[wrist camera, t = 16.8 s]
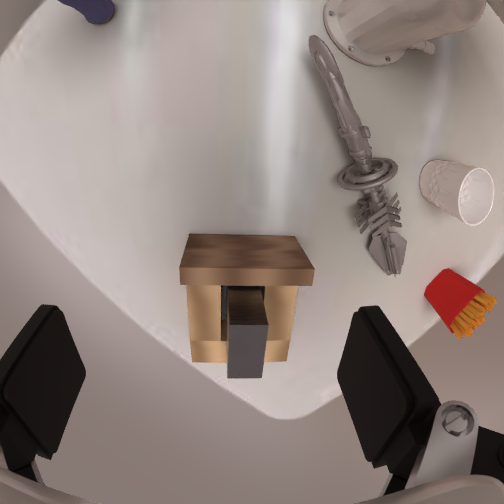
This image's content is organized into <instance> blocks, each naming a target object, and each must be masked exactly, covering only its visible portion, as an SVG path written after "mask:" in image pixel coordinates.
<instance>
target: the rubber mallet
mask: <svg viewBox="0 0 504 504" xmlns="http://www.w3.org/2000/svg"><path fill="white" fill-rule="evenodd" d="M58 1H60V2H61V3H63V4H65V5H68V6H71V7H73V8H75V9H76V10H77V11H79V12H80V13H82V14H83V15H84V16H85V18H86V20H87V21H88V22H89V23H92V24H100V23H104V22H106V21H108V20H109V19H110V18H111V17H112V15H113V11H114V4H113V2H112V1H111V0H58Z"/></svg>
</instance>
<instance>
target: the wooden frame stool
mask: <svg viewBox="0 0 504 504" xmlns="http://www.w3.org/2000/svg"><path fill="white" fill-rule="evenodd" d="M179 268H180V285H187V302H188V318H189V332H190V344H191V355H192V362H209V363H227V352H226V320H221V285H222V286H260V289H261V293H262V298H263V302H264V306H265V311H266V315H267V320H268V324H269V327H268V334H267V342H266V350H265V357H264V362H281V361H286V360H287V355H288V349H289V343H290V337H291V331H292V325H293V319H294V313H295V306H296V300H297V293H298V286H312V283H313V277H314V270H315V269H314V267H313V265H312V264H311V262H310V261H309V259H308V257H307V256H306V254H305V252H304V251H303V249H302V248H301V246H300V244H299V243H298V241H297V239H296V238H295V236H270V235H226V234H189V237H188V240H187V244H186V247H185V250H184V254H183V257H182V260H181V264H180V267H179Z"/></svg>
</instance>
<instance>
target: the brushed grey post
mask: <svg viewBox="0 0 504 504" xmlns="http://www.w3.org/2000/svg"><path fill="white" fill-rule="evenodd" d="M225 318H226V352H227V378H262V372H263V364H264V357H265V350H266V342H267V334H268V327H269V324H268V320H267V315H266V311H265V306H264V302H263V298H262V293H261V289H260V286H226V314H225Z"/></svg>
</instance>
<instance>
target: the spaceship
mask: <svg viewBox="0 0 504 504" xmlns="http://www.w3.org/2000/svg"><path fill="white" fill-rule="evenodd" d="M309 49H310V52H311V56H312V58H313V61H314V63H315V65H316V67H317V69H318V71H319V73H320V75H321V77H322V79H323V81H324V83H325V85H326V86H327V88H328V90H329V94H330V97H331V100H332V102H333V105H334V107H335V110H336V112H337V116H338V121H339V124H340V126H341V127H340V128H338V132H339V135H340V137H341V138H345V139H346V142H347V145H348V147H349V150H348V152H349V154H350V155H351V156H352V157H353V158H354V160H355V161H356V162H357V163H355V164H353V165H351V166H349V167H347V168H346V169H345V170H343V171H342V172H341V173H340V175H339V177H338V184H339V185H340V186H341V187H342V188H344V189H347V190H362V191H363V193H364V194H367V193H369V194H370V195H371V199H370V200H367V201H365V200H358V202H359V204H362V205H364V206H363V207H360V208H361V210H360V211H359V212H358V214H357V215H356V216H355V217H356V220H357V219H358V218H359V217H360V216H361V215H363V217H362V219H361V220H360V221H359V222H358V227H359V226H360V225H361V224H362V223H363V222H364V221H365V220H366V218H367V219H368V220H367V222H366V223H365V224H364V226H363V227H362V228H361V230H360V233H361V234H362V232H363V231H364V230H365V229H366V228H367V227H368V225H369V224H370V223H371V222H372V221H373V222H374V223H375V224H373V225H372V226H371V227H370V230H371V231H372V230H373V229H375V228H376V227H379V229H378V230H377V231H376V232H374V233H373V234H372V237H373V239H372V242H371V245H370V247H369V251H370V253H371V254H372V256H373V257H374V259H375V260H376V261H377V263H378V264H379V266H380V267H381V269H383V270H384V271H385V273H386V274H387V275H391V274H393V273H394V275H395V274H400V273H401V268H402V265H403V262H404V256H405V250H406V244H407V241H406V240H405V239H404V238H403V237H402V236H400V235H399V234H398V233H397V232H394V233H389V231H388V227H390V226H391V227H392V226H396V227H400V228H401V227H402V225H401V223H399V222H396V221H394V220H399V219H400V216H398V214H399V213H400V211H401V207H400V208H399V209H398V208H397V206H398V205H399V200H398V201H397V202H396V204H395V205H394V206H393V207H392V206H391V205H392V204H393V203H394V201H395V200H396V198H397V197H398V195H397V193H396V194H395V195H394V197H393V198H392V199H391V200H390V202H389V203H388V204H386V205H385V202H386V201H388V200H387V197H386V198H385V199H380V198H381V197H382V196H383V195H385V194H386V192H385V190H384V191H383V192H381V193H379V194H378V191H379V190H382V189H383V185H382V184H384V183H386V182H387V181H389V180H390V179H392V178H393V177H394V176H395V175H396V173H397V170H398V165H397V164H396V163H395V162H394V161H393V160H391V159H388V158H372V159H371V157H372V152H371V149H372V147H370V146H369V143H368V140H367V138H370V135H371V134H370V131H369V128H368V127H367V126H362V123H361V121H360V118H359V116H358V115H357V113H356V111H355V110H354V108H353V105H352V103H351V100H350V98H349V95H348V93H347V90H346V88H345V86H344V81H343V78H342V75H341V73H340V71H339V68H338V66H337V63H336V61H335V59H334V57H333V55H332V53H331V51H330V50H329V48H328V47H327V46H326V44H325V43H324V42H323V41H322V40H321V39H320V38H319V37H317V36H315V35H312V36H310V37H309ZM376 168H377V169H380V168H381V169H380V170H378V171H376V170H375V169H376ZM357 173H359V175H356V174H357ZM353 174H354V175H353ZM352 175H353V176H352ZM344 177H345V178H344ZM363 212H366V213H363ZM393 212H396V213H395V214H393ZM362 213H363V214H362ZM378 234H381V235H379V236H377V235H378Z"/></svg>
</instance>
